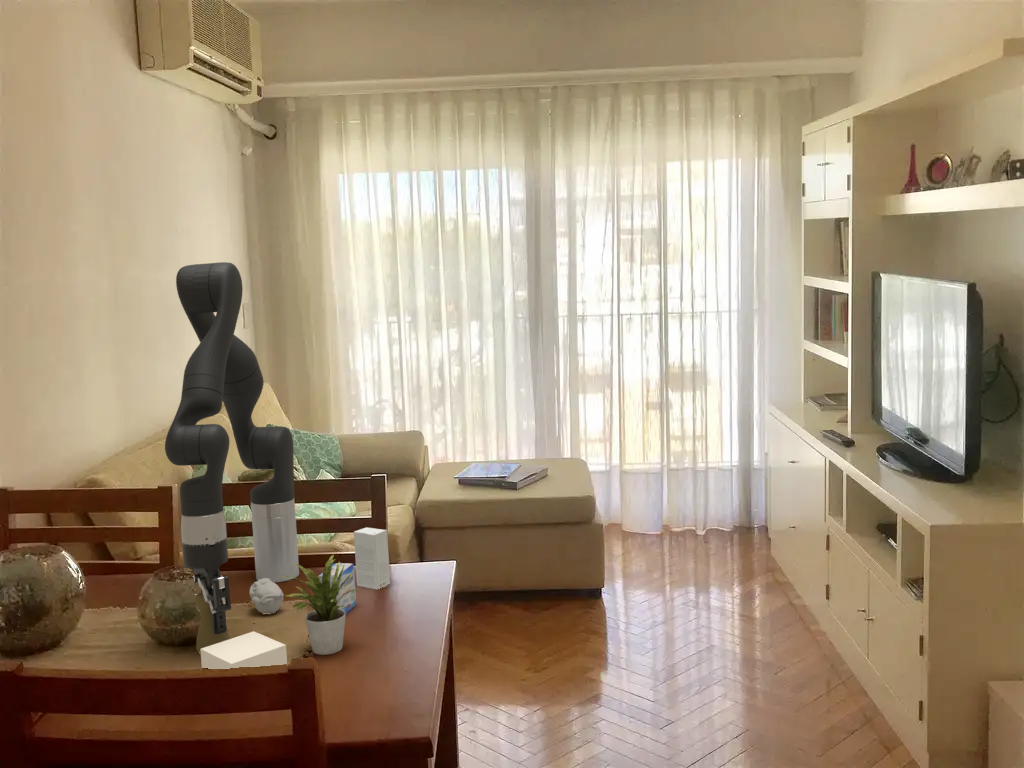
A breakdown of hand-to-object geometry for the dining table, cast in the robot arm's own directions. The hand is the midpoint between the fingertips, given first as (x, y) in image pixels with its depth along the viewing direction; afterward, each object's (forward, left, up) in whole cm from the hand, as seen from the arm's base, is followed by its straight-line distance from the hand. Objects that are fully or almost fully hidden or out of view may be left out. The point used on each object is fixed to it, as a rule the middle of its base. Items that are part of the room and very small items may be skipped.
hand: (210, 626), depth 168 cm
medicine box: (-2, +26, -5) cm, 27 cm away
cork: (0, 0, -5) cm, 5 cm away
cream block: (+14, 0, -5) cm, 15 cm away
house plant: (+12, +16, -5) cm, 21 cm away
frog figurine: (-11, +15, -5) cm, 19 cm away
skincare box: (-11, +39, -5) cm, 41 cm away
